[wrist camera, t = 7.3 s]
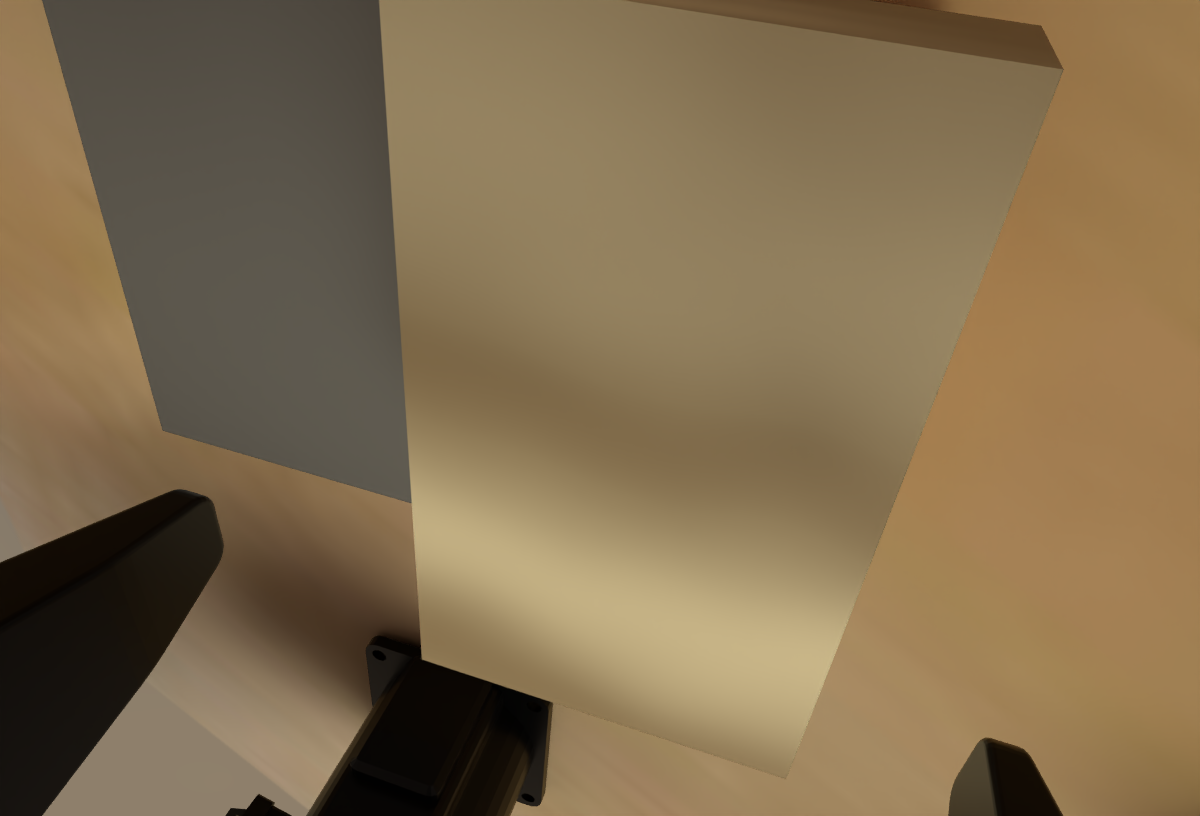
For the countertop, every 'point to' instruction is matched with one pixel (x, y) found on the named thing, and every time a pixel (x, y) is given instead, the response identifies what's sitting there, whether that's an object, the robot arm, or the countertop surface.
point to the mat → (251, 220)
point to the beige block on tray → (681, 328)
